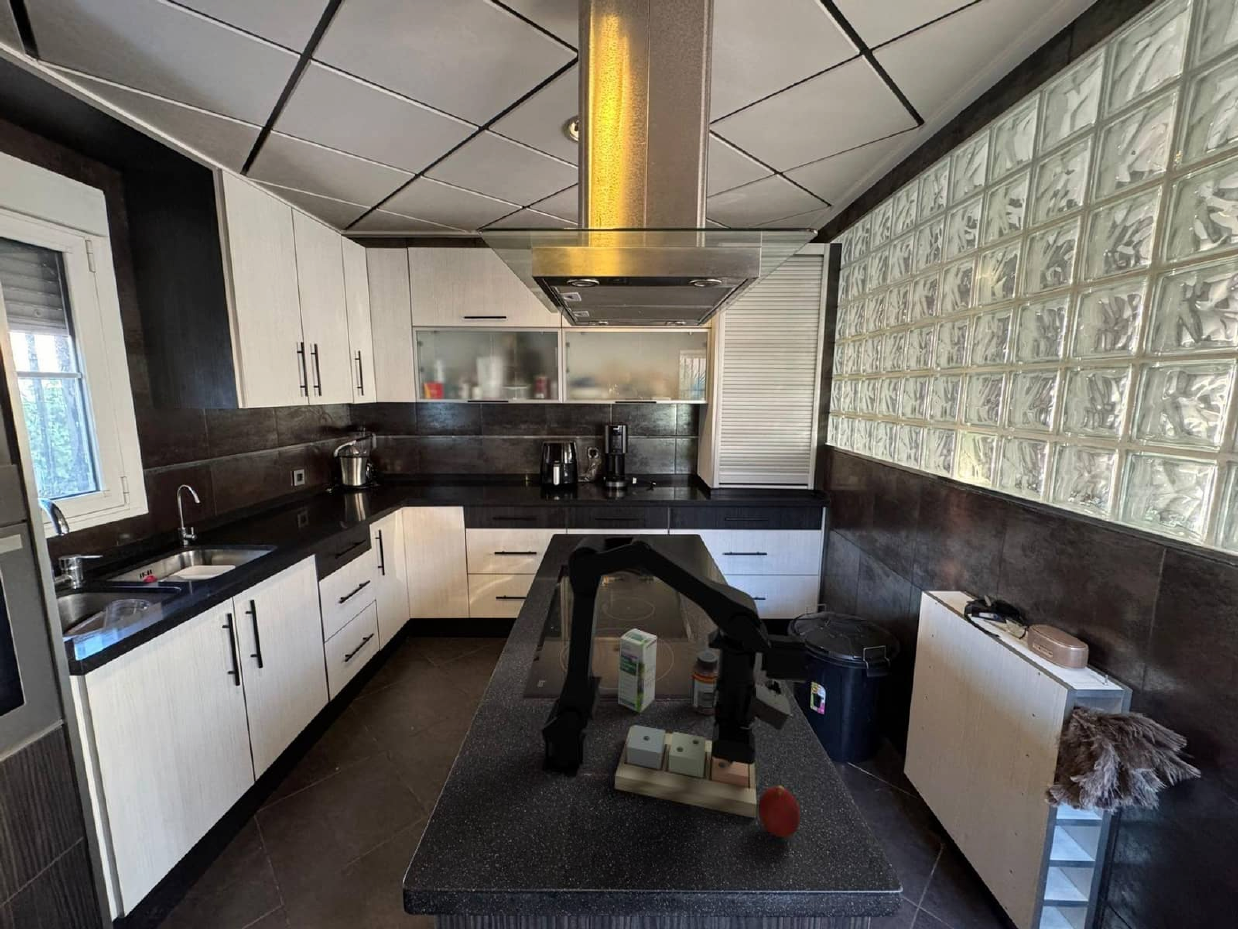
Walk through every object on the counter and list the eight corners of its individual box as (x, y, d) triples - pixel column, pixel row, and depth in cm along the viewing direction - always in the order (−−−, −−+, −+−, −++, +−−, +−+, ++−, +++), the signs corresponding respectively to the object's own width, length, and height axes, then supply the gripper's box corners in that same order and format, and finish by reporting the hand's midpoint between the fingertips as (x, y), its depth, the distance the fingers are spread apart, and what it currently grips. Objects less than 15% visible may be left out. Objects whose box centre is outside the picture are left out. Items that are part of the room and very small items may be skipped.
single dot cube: (626, 763, 82) (627, 746, 82) (633, 740, 87) (633, 724, 87) (659, 769, 81) (660, 752, 80) (664, 745, 86) (665, 729, 86)
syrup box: (616, 703, 101) (618, 637, 99) (632, 689, 106) (634, 626, 104) (640, 714, 98) (642, 646, 96) (655, 699, 103) (657, 634, 101)
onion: (766, 810, 76) (770, 764, 75) (803, 832, 73) (808, 784, 71) (750, 836, 72) (753, 787, 70) (789, 860, 68) (793, 809, 67)
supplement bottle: (695, 694, 105) (698, 645, 103) (723, 703, 102) (726, 652, 100) (686, 710, 99) (689, 658, 98) (715, 720, 97) (718, 666, 95)
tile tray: (614, 788, 80) (615, 775, 79) (630, 738, 91) (630, 726, 91) (755, 818, 75) (756, 804, 74) (752, 761, 86) (753, 748, 86)
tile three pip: (711, 786, 79) (712, 769, 79) (712, 761, 85) (713, 745, 84) (747, 793, 78) (748, 776, 77) (746, 767, 83) (747, 751, 83)
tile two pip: (668, 771, 81) (669, 754, 80) (672, 747, 86) (673, 731, 85) (702, 778, 79) (704, 760, 79) (705, 753, 85) (705, 737, 84)
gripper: (796, 719, 68) (787, 818, 70) (783, 650, 86) (776, 731, 88) (714, 705, 70) (708, 802, 72) (718, 641, 88) (713, 720, 90)
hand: (730, 760), depth 81 cm, fingers closed, pressing on tile three pip
